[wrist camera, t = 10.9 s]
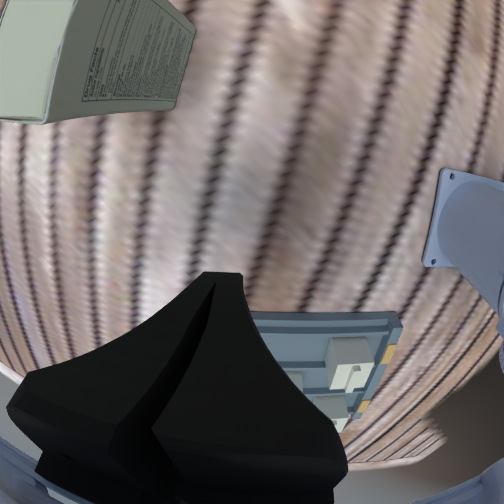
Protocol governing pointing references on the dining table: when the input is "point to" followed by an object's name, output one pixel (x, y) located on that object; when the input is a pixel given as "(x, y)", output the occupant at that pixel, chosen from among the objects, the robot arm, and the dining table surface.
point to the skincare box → (90, 58)
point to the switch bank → (316, 343)
